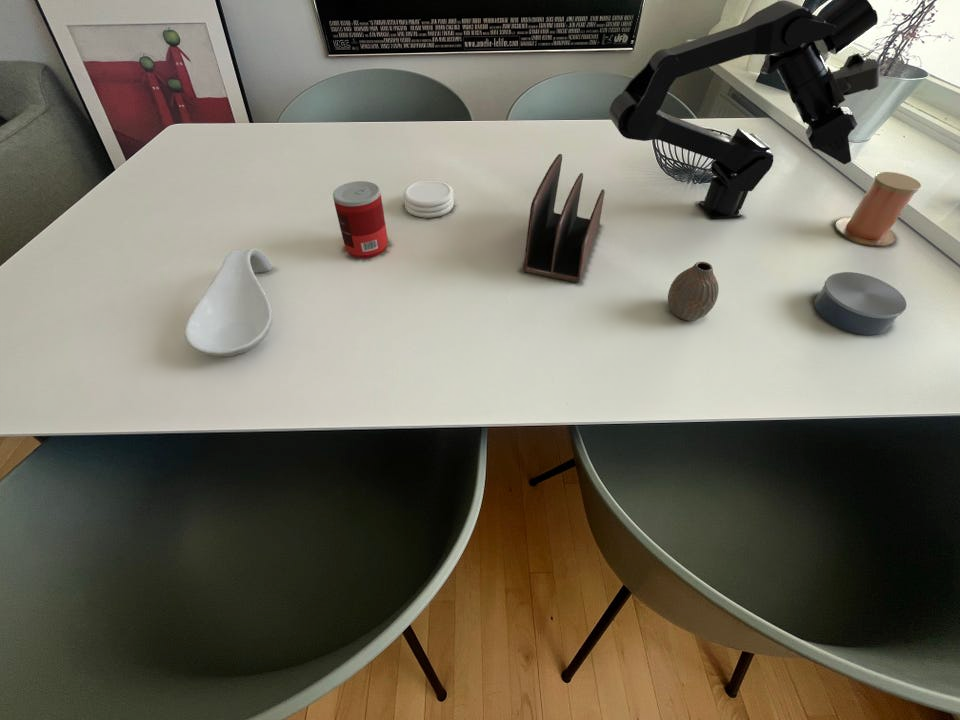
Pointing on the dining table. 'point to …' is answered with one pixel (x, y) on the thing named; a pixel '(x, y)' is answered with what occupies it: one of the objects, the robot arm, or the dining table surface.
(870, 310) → the tin
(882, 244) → the mat
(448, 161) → the dining table surface
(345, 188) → the canned food
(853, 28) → the robot arm
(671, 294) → the vase
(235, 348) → the spoon rest
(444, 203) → the coaster
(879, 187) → the canister
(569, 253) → the letter holder
